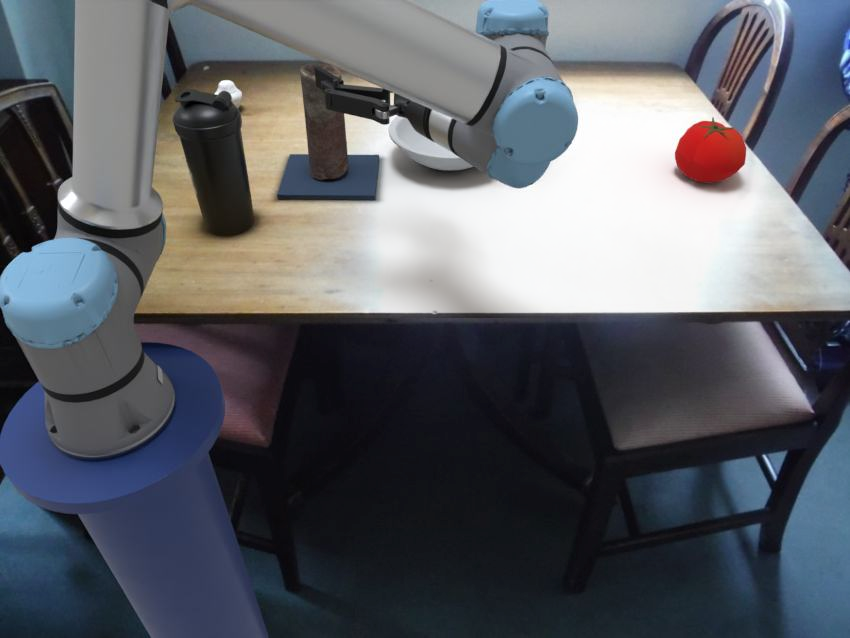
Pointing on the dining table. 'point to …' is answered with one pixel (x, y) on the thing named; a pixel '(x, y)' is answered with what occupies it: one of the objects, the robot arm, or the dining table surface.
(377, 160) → the mat
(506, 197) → the dining table surface
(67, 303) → the robot arm
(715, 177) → the tomato
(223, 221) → the water bottle
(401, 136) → the soup bowl
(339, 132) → the candle
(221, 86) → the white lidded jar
